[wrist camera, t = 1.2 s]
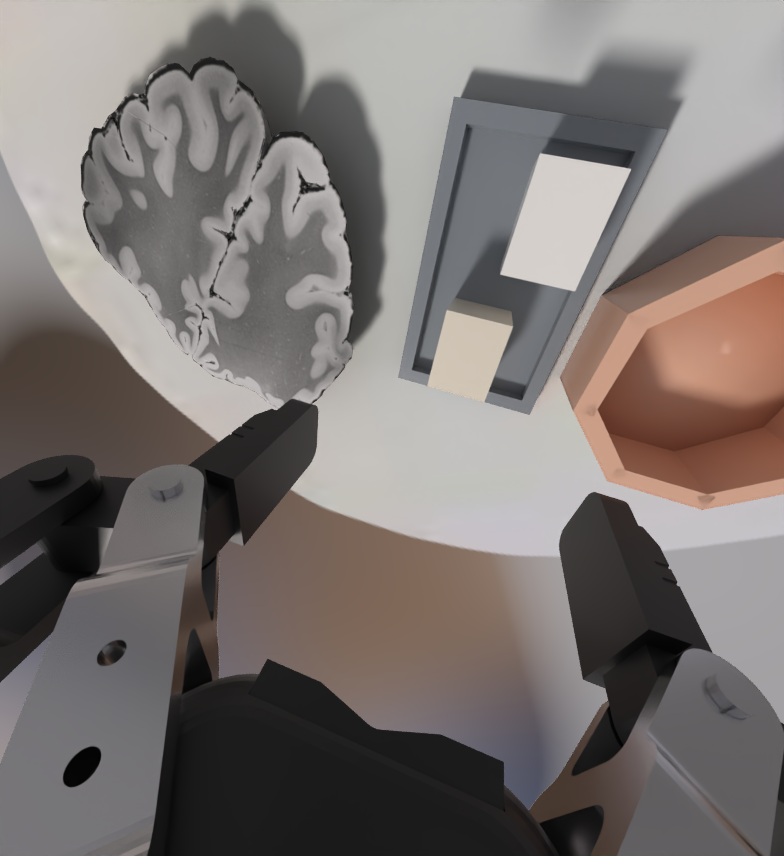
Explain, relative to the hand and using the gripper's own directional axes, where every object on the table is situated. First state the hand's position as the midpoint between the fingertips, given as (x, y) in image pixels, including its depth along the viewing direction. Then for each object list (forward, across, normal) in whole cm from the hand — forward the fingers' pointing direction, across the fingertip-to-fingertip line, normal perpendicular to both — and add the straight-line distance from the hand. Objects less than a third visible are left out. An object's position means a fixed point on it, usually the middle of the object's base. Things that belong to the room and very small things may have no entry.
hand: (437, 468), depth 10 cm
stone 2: (+13, -2, -6) cm, 15 cm away
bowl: (+14, -12, -2) cm, 18 cm away
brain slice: (+14, +16, -2) cm, 22 cm away
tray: (+14, 0, -4) cm, 14 cm away
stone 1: (+13, 0, 0) cm, 13 cm away
